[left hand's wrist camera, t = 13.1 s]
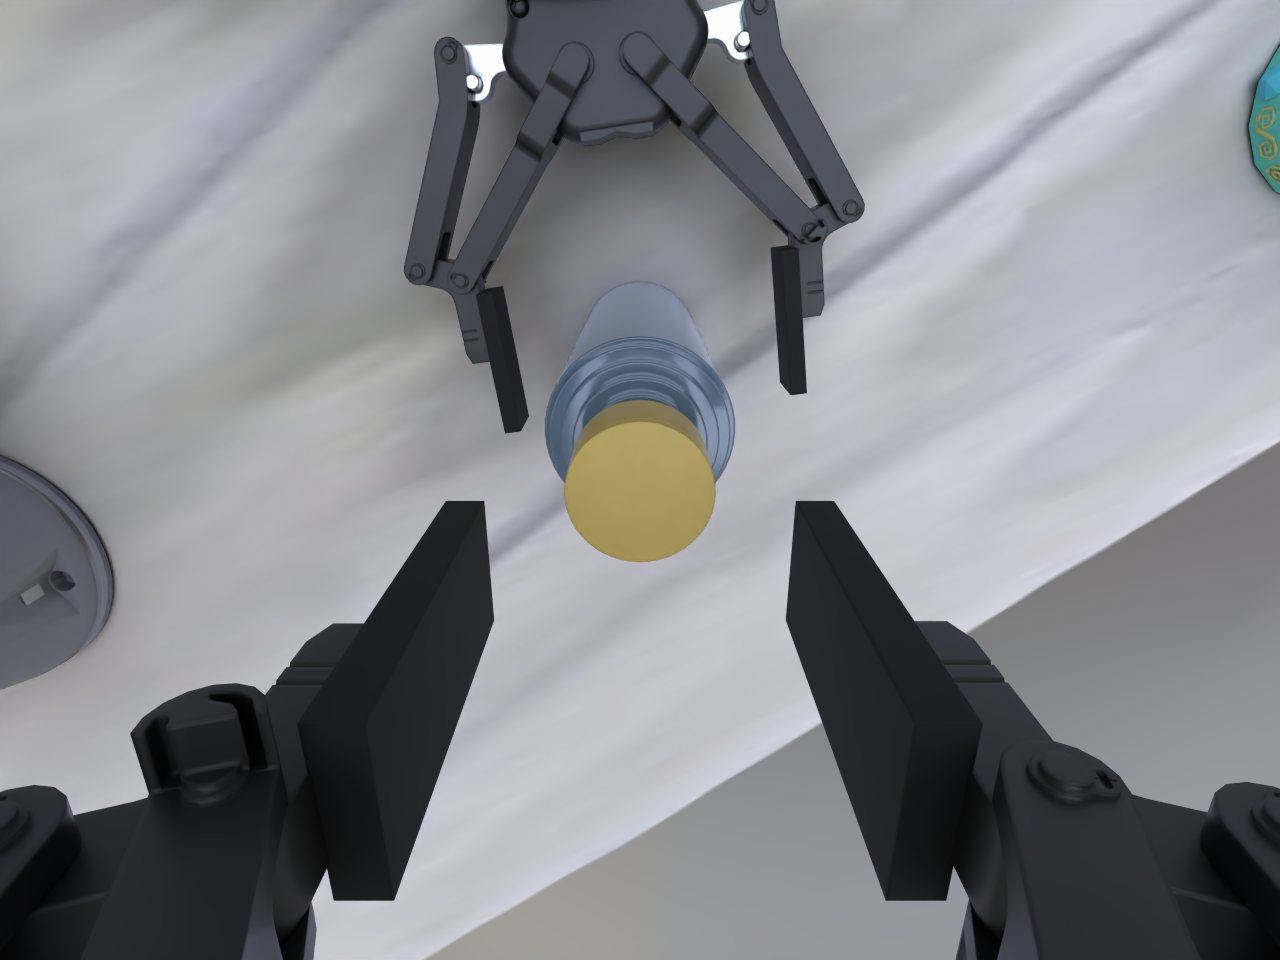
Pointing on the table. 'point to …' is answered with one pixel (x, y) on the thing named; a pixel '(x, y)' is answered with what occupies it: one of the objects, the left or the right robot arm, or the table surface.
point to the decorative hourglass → (1267, 124)
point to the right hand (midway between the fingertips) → (654, 407)
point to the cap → (639, 482)
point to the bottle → (639, 372)
